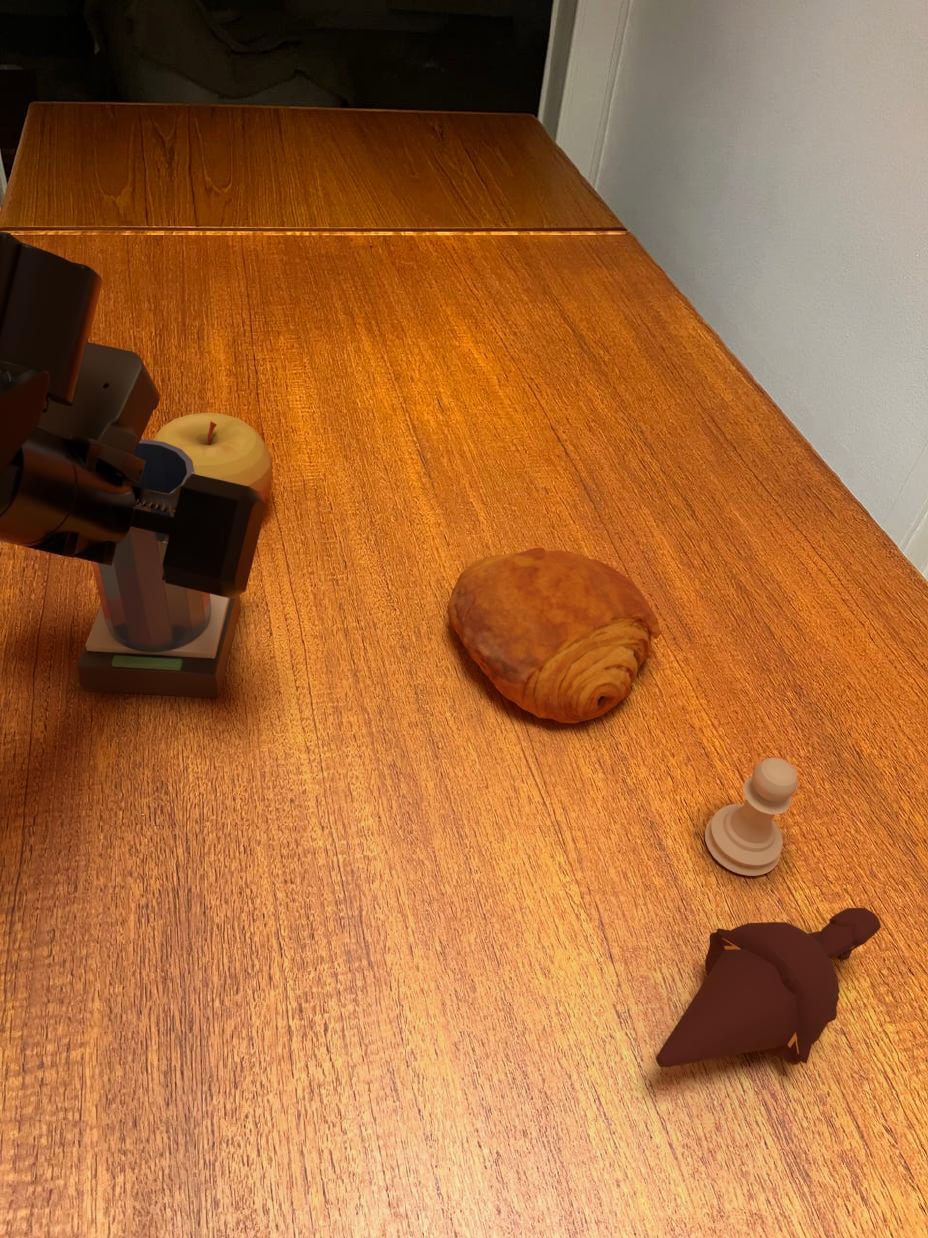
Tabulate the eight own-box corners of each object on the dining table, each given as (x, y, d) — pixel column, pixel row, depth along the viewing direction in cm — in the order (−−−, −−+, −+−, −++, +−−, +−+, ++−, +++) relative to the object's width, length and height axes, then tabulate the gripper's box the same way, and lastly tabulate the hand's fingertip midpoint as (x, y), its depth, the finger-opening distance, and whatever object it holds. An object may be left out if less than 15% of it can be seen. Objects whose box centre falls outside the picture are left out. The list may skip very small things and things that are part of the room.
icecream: (743, 1127, 42) (939, 972, 50) (647, 971, 45) (847, 847, 53) (670, 1149, 48) (857, 1007, 55) (589, 1009, 51) (777, 891, 58)
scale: (82, 691, 65) (74, 660, 63) (117, 599, 71) (110, 568, 69) (218, 698, 66) (214, 668, 63) (240, 607, 72) (237, 577, 70)
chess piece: (777, 887, 59) (822, 811, 53) (700, 866, 59) (737, 788, 54) (780, 825, 62) (823, 747, 57) (706, 805, 63) (742, 725, 57)
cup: (165, 667, 63) (139, 521, 55) (84, 626, 65) (47, 479, 57) (232, 606, 68) (217, 463, 59) (154, 570, 70) (129, 426, 61)
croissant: (506, 770, 66) (527, 706, 60) (417, 600, 74) (427, 528, 68) (682, 708, 71) (718, 644, 65) (581, 555, 79) (604, 485, 73)
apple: (287, 481, 83) (283, 400, 78) (259, 553, 76) (253, 470, 71) (174, 466, 84) (162, 384, 78) (135, 537, 77) (120, 452, 71)
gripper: (240, 363, 46) (322, 437, 62) (-112, 289, 48) (53, 379, 64) (185, 590, 46) (281, 608, 62) (-166, 506, 48) (13, 543, 64)
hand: (156, 528), depth 63 cm, fingers closed on cup, 7 cm apart
